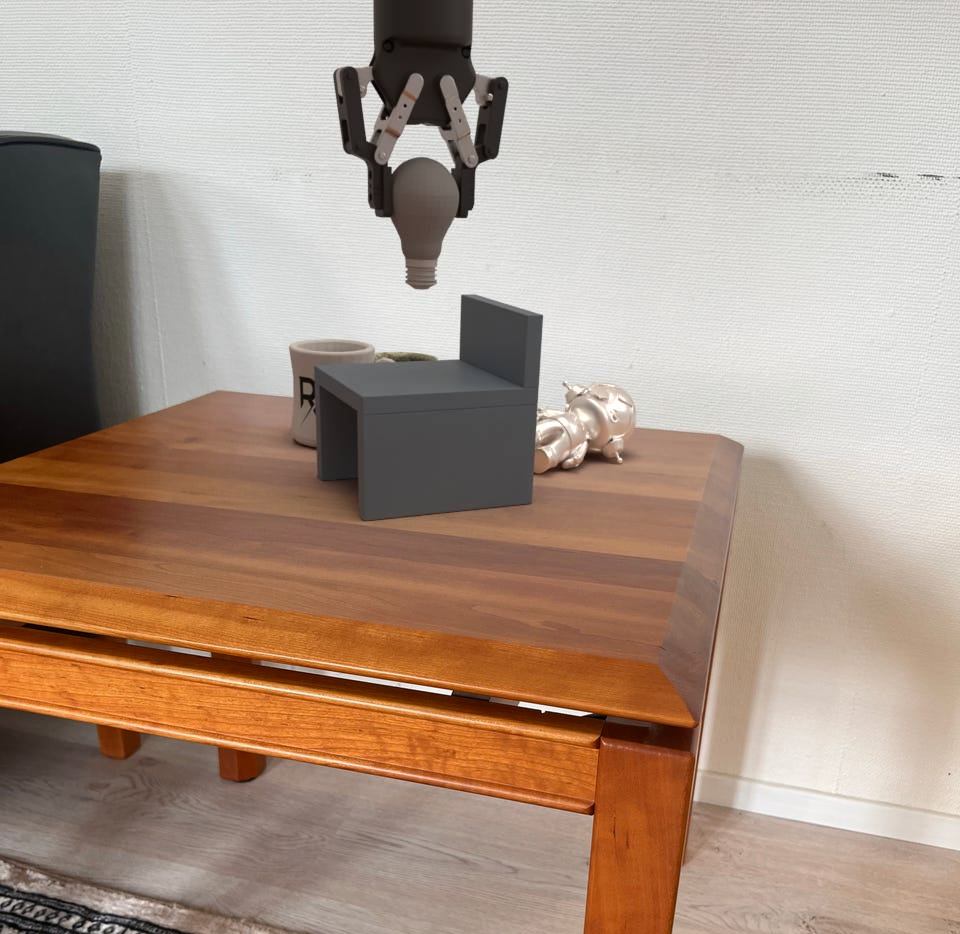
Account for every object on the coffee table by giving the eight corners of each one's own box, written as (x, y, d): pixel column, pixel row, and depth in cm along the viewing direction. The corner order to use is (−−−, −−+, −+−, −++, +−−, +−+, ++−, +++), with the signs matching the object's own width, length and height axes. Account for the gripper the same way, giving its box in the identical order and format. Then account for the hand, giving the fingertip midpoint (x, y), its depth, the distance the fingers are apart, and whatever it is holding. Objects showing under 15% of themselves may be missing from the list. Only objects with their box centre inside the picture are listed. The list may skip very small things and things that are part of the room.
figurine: (514, 389, 99) (614, 346, 107) (482, 430, 105) (579, 386, 113) (576, 478, 98) (672, 427, 106) (540, 514, 104) (634, 463, 112)
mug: (279, 447, 107) (275, 349, 103) (306, 427, 115) (303, 336, 111) (394, 456, 106) (395, 357, 101) (413, 435, 114) (414, 343, 109)
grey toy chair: (363, 521, 86) (361, 319, 79) (317, 476, 98) (311, 296, 91) (531, 503, 93) (543, 315, 86) (469, 463, 104) (475, 294, 97)
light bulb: (451, 285, 89) (454, 158, 84) (461, 294, 83) (465, 158, 79) (382, 284, 88) (381, 155, 83) (388, 292, 82) (388, 155, 78)
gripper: (490, -11, 82) (482, 215, 89) (315, -30, 76) (322, 213, 83) (532, -23, 76) (520, 221, 83) (345, -45, 70) (350, 219, 77)
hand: (421, 216), depth 83 cm, fingers closed on light bulb, 6 cm apart
